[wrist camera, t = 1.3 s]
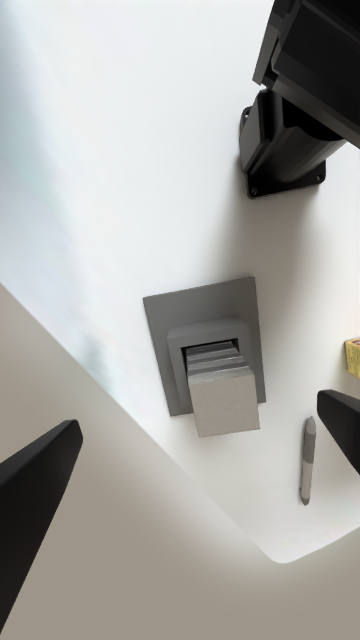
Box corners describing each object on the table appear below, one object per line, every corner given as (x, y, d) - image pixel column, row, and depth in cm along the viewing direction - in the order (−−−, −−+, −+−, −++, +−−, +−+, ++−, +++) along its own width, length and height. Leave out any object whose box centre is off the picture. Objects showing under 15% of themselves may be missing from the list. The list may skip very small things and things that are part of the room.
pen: (296, 496, 26) (303, 509, 25) (302, 411, 23) (310, 420, 21) (304, 496, 26) (311, 508, 24) (310, 410, 23) (319, 419, 21)
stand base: (251, 276, 19) (274, 277, 14) (263, 397, 22) (284, 431, 17) (144, 297, 19) (131, 304, 15) (171, 411, 22) (167, 447, 18)
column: (225, 332, 19) (254, 373, 11) (230, 369, 20) (260, 429, 12) (185, 339, 19) (187, 384, 11) (192, 375, 20) (198, 438, 12)
